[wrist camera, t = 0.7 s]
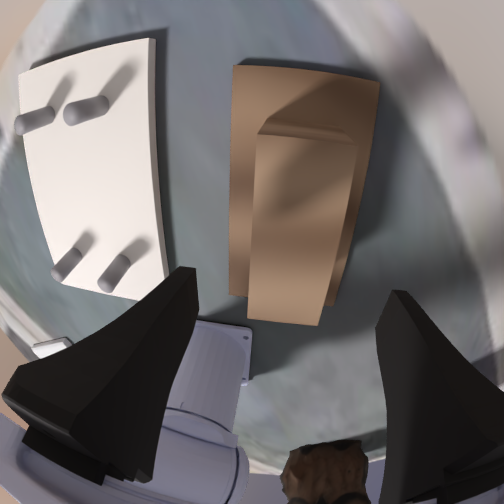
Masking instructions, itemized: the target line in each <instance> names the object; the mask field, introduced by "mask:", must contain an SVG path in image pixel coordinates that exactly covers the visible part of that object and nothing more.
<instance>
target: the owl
mask: <svg viewBox="0 0 504 504" xmlns="http://www.w3.org/2000/svg"><path fill="white" fill-rule="evenodd" d="M367 473H368V457H367V456H366V455H365V454H364V452H363V451H362V449H361V441H360V440H337V441H334V442H330V443H325V442H323V443H320V444H314V445H309V444H308V445H305V446H301V447H299V448H298V449H295V450H292V451H290V456H289V458H288V460H287V463H286V465H285V468H284V470H283V473H282V474H281V475H280V479H281V483H282V485H283V489H282V491H283V492H284V493H285V495H286V496H287V500H288V501H289V502H288V504H371V501H370V500H369V498H368V496H367V493H366V488H365V483H366V478H367Z"/></svg>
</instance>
